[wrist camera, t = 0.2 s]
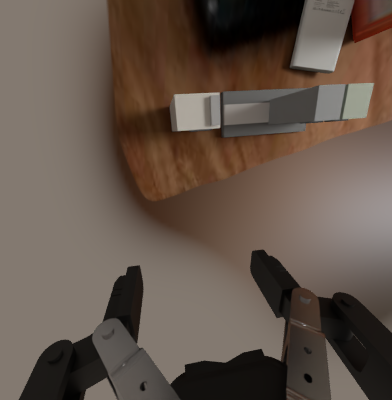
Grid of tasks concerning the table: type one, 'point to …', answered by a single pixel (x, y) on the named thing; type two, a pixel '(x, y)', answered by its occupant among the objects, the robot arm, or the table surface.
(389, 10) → the file binder
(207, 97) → the block
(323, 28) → the external hard drive
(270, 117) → the board
